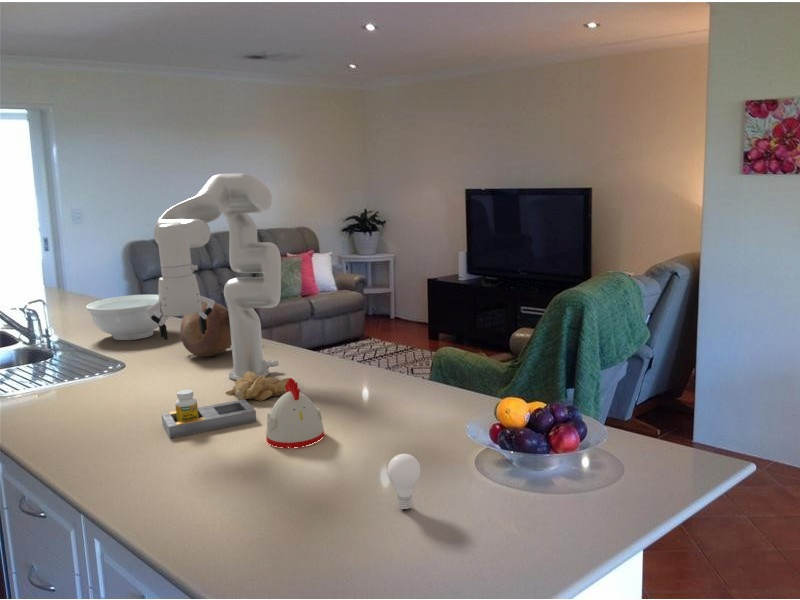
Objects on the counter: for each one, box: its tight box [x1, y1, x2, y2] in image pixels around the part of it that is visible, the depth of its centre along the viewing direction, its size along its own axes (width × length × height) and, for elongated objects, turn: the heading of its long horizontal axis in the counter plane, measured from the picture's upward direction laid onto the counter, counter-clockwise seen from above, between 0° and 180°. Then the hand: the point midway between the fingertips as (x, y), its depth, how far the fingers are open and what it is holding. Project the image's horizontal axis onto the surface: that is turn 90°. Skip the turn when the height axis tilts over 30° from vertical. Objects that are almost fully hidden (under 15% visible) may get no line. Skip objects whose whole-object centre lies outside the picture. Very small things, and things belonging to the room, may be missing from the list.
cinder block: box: [160, 399, 257, 439], centre depth 190 cm, size 22×11×3 cm, turn 117°
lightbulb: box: [386, 453, 422, 510], centre depth 138 cm, size 6×6×11 cm
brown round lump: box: [179, 301, 232, 357], centre depth 262 cm, size 20×20×30 cm
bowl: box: [85, 294, 162, 341], centre depth 294 cm, size 32×32×15 cm
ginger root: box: [225, 371, 290, 402], centre depth 210 cm, size 16×16×8 cm
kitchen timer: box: [265, 377, 325, 448], centre depth 176 cm, size 14×14×15 cm
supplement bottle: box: [175, 389, 199, 422], centre depth 187 cm, size 5×5×10 cm
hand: (184, 336), depth 190 cm, fingers open, 9 cm apart
